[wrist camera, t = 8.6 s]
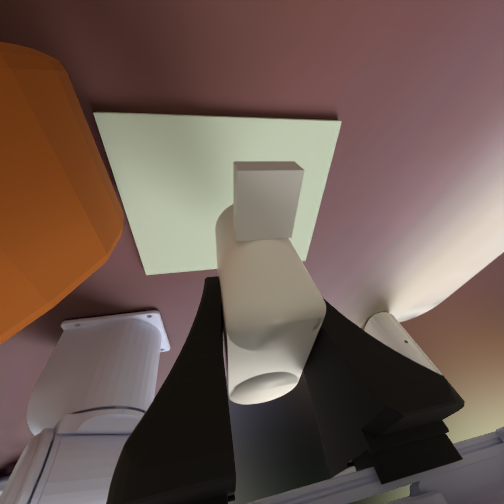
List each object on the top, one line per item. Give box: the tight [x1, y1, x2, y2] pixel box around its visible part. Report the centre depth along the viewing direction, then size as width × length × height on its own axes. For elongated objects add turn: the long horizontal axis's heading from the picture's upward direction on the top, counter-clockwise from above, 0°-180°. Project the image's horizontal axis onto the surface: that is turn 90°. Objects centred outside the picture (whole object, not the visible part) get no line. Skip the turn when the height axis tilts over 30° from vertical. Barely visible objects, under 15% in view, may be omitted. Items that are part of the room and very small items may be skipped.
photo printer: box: [364, 312, 443, 376], centre depth 33 cm, size 10×4×12 cm, turn 4°
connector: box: [215, 161, 326, 404], centre depth 10 cm, size 3×11×6 cm, turn 177°
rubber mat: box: [93, 112, 342, 275], centre depth 19 cm, size 16×13×1 cm
